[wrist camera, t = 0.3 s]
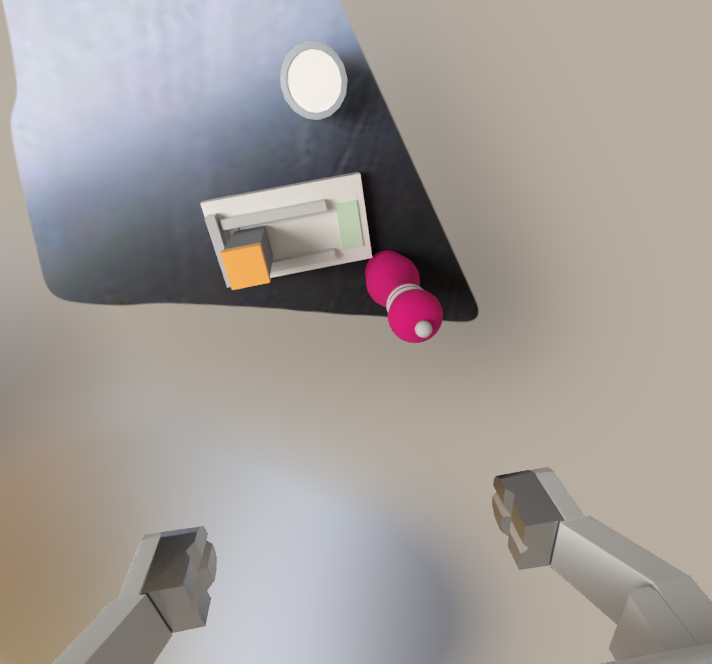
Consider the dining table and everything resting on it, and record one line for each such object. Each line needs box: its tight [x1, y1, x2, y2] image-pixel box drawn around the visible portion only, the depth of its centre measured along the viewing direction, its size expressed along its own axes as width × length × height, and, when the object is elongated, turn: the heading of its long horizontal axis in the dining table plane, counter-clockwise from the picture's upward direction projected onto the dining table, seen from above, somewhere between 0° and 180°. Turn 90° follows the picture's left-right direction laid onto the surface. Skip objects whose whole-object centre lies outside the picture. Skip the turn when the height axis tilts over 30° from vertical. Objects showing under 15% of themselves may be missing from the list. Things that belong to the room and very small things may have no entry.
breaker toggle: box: [220, 226, 273, 290], centre depth 47 cm, size 4×4×10 cm
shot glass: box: [280, 41, 347, 120], centre depth 44 cm, size 7×7×7 cm
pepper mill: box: [365, 250, 443, 343], centre depth 50 cm, size 7×7×20 cm
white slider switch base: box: [200, 172, 372, 287], centre depth 52 cm, size 11×20×4 cm, turn 99°
